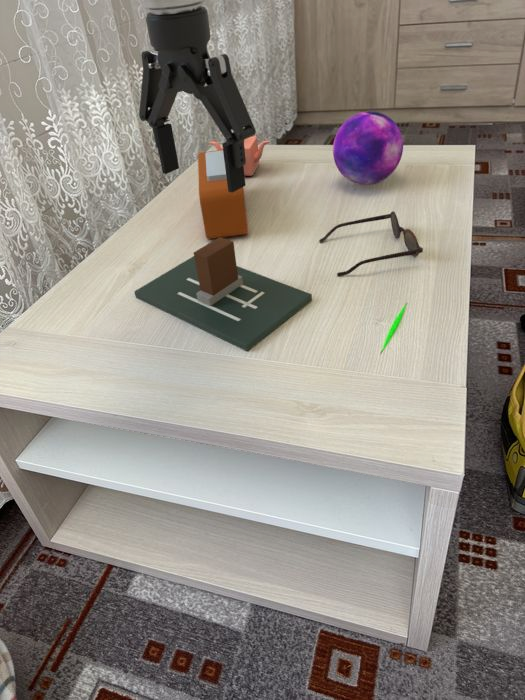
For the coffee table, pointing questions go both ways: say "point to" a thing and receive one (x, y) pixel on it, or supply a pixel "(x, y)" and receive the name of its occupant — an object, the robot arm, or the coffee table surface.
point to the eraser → (216, 271)
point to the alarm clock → (219, 198)
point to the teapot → (249, 153)
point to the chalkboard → (226, 304)
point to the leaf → (394, 327)
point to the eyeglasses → (408, 235)
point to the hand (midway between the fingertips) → (202, 179)
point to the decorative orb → (368, 148)
